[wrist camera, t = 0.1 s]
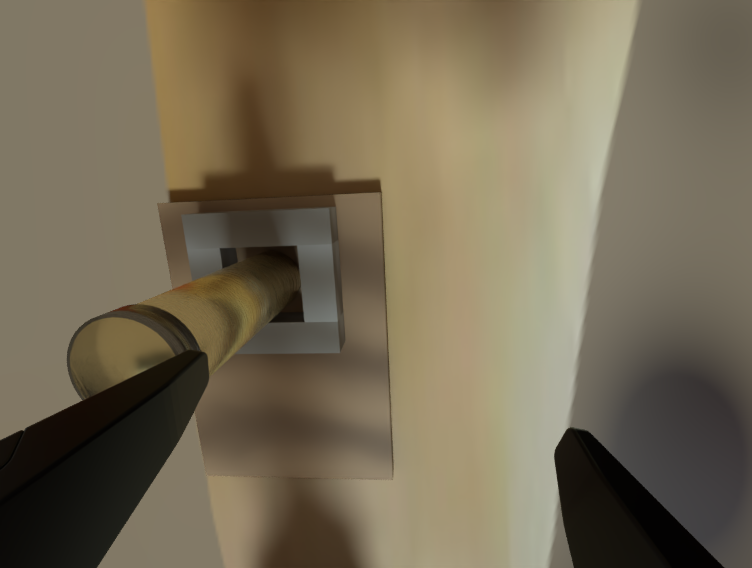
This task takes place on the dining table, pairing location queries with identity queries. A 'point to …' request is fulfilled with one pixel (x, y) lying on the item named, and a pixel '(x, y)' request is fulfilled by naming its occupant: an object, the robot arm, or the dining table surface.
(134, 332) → the tan cylinder
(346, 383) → the walnut eye plate
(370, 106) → the dining table surface
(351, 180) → the dining table surface
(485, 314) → the dining table surface
